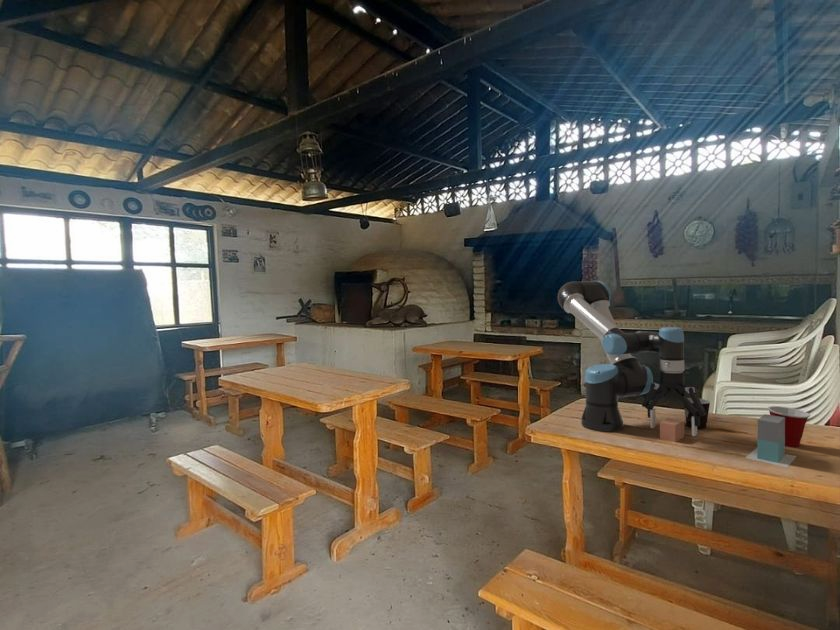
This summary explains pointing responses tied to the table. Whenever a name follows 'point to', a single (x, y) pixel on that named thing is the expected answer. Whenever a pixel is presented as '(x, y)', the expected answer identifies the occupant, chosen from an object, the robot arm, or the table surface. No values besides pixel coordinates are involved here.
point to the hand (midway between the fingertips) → (673, 431)
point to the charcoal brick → (771, 428)
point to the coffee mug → (702, 418)
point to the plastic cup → (791, 423)
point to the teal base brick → (770, 450)
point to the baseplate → (783, 462)
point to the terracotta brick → (672, 429)
